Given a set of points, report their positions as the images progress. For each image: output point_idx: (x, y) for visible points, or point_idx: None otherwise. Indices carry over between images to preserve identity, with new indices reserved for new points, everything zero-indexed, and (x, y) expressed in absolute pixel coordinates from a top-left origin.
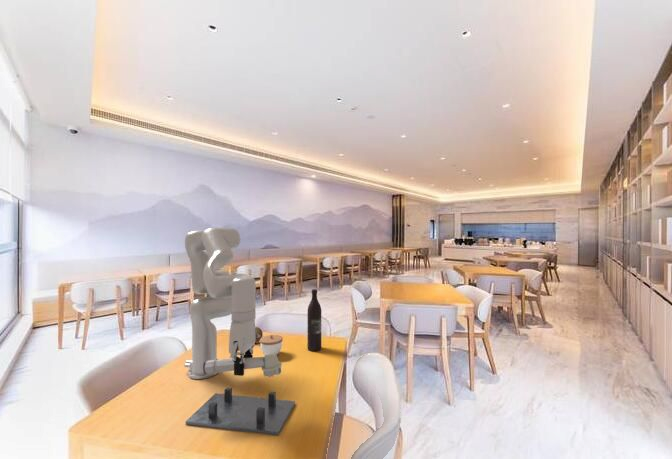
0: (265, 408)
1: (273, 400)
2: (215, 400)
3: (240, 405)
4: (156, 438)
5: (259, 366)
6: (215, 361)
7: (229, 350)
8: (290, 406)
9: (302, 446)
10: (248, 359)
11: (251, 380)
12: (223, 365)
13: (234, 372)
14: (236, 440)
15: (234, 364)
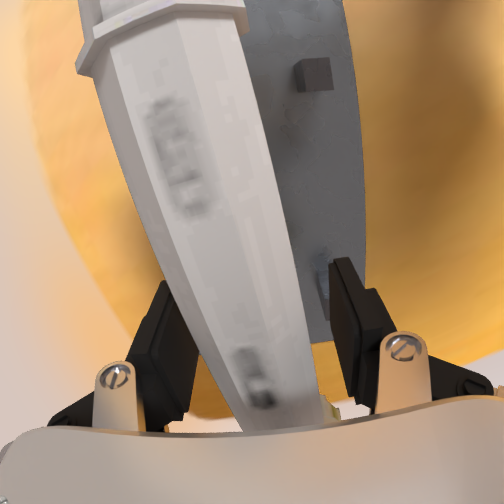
0: (298, 269)
1: (321, 303)
2: (286, 20)
3: (288, 159)
4: (44, 17)
5: None
6: (112, 46)
7: (5, 470)
8: (329, 336)
9: (194, 396)
10: (254, 424)
11: (485, 91)
12: (127, 182)
13: (159, 293)
14: (129, 257)
15: (138, 344)
